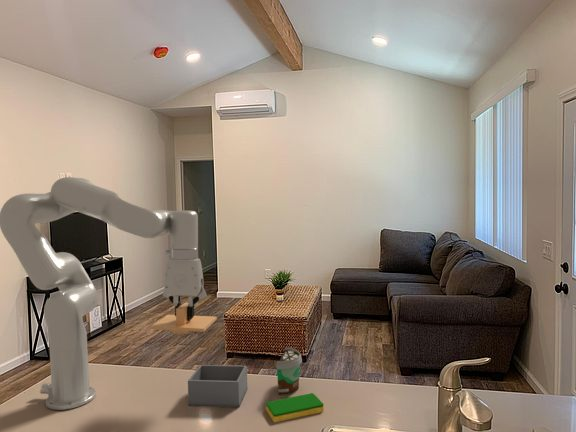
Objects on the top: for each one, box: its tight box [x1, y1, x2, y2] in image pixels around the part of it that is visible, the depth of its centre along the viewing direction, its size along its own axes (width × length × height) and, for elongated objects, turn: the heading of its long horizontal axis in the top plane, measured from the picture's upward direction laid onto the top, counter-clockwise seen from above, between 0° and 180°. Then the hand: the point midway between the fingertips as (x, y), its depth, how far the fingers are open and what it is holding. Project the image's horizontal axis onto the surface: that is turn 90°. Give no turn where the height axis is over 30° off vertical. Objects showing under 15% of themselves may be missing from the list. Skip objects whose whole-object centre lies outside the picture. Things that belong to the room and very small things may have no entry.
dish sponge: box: [265, 392, 325, 423], centre depth 113 cm, size 7×14×2 cm, turn 111°
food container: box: [276, 347, 303, 396], centre depth 126 cm, size 12×6×10 cm, turn 168°
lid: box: [149, 301, 218, 334], centre depth 121 cm, size 15×12×6 cm
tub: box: [187, 364, 248, 409], centre depth 121 cm, size 14×11×7 cm
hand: (184, 318), depth 121 cm, fingers closed on lid
